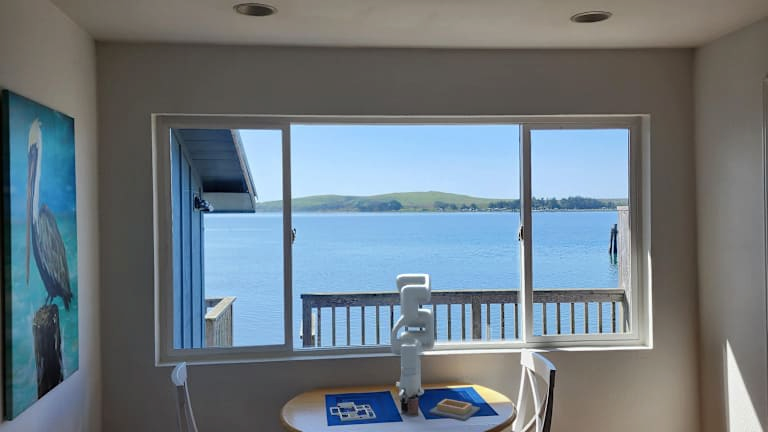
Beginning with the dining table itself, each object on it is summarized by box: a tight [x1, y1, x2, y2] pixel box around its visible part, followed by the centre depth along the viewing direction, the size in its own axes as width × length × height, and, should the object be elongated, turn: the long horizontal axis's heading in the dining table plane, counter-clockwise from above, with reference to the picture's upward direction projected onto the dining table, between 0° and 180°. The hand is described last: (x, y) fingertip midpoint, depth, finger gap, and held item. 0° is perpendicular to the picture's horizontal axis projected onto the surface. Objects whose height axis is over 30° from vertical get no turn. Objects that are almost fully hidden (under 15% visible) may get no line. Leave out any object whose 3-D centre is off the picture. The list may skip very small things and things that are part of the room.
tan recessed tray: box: [428, 398, 481, 422], centre depth 269 cm, size 18×16×4 cm
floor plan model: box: [329, 401, 377, 422], centre depth 270 cm, size 19×25×2 cm
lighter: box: [401, 393, 420, 417], centre depth 267 cm, size 8×3×10 cm, turn 71°
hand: (410, 407), depth 267 cm, fingers open, 9 cm apart
